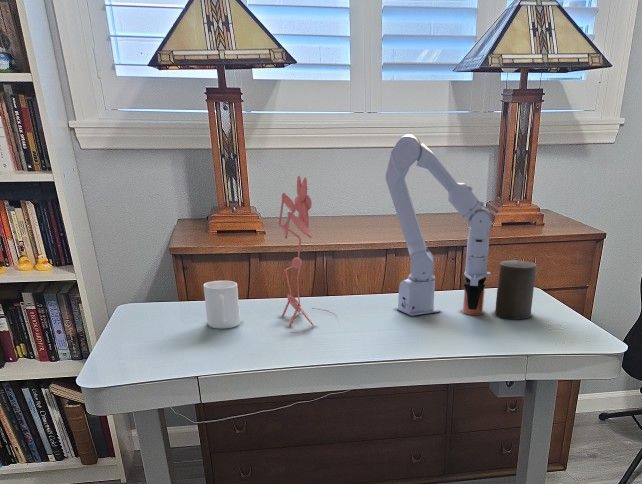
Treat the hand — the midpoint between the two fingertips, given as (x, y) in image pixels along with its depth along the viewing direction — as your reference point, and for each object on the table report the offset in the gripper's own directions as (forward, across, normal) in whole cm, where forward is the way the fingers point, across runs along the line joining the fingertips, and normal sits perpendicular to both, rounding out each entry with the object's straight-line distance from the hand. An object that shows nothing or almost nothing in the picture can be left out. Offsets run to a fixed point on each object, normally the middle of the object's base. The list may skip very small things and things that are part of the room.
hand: (473, 306), depth 193 cm
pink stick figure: (+2, -17, +42) cm, 45 cm away
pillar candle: (+2, 0, -11) cm, 11 cm away
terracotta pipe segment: (+2, 0, 0) cm, 2 cm away
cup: (+2, -27, +62) cm, 67 cm away
